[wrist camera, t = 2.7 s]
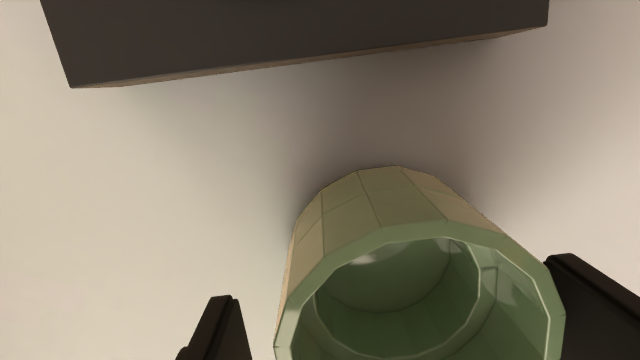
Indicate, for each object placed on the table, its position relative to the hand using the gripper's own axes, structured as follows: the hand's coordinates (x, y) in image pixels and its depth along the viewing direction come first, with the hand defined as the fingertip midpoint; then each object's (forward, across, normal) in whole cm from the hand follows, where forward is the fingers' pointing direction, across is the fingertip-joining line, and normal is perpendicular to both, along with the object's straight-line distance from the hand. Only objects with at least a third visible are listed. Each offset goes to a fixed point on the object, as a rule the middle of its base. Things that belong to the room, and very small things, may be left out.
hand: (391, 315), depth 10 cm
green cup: (+4, 0, 0) cm, 4 cm away
